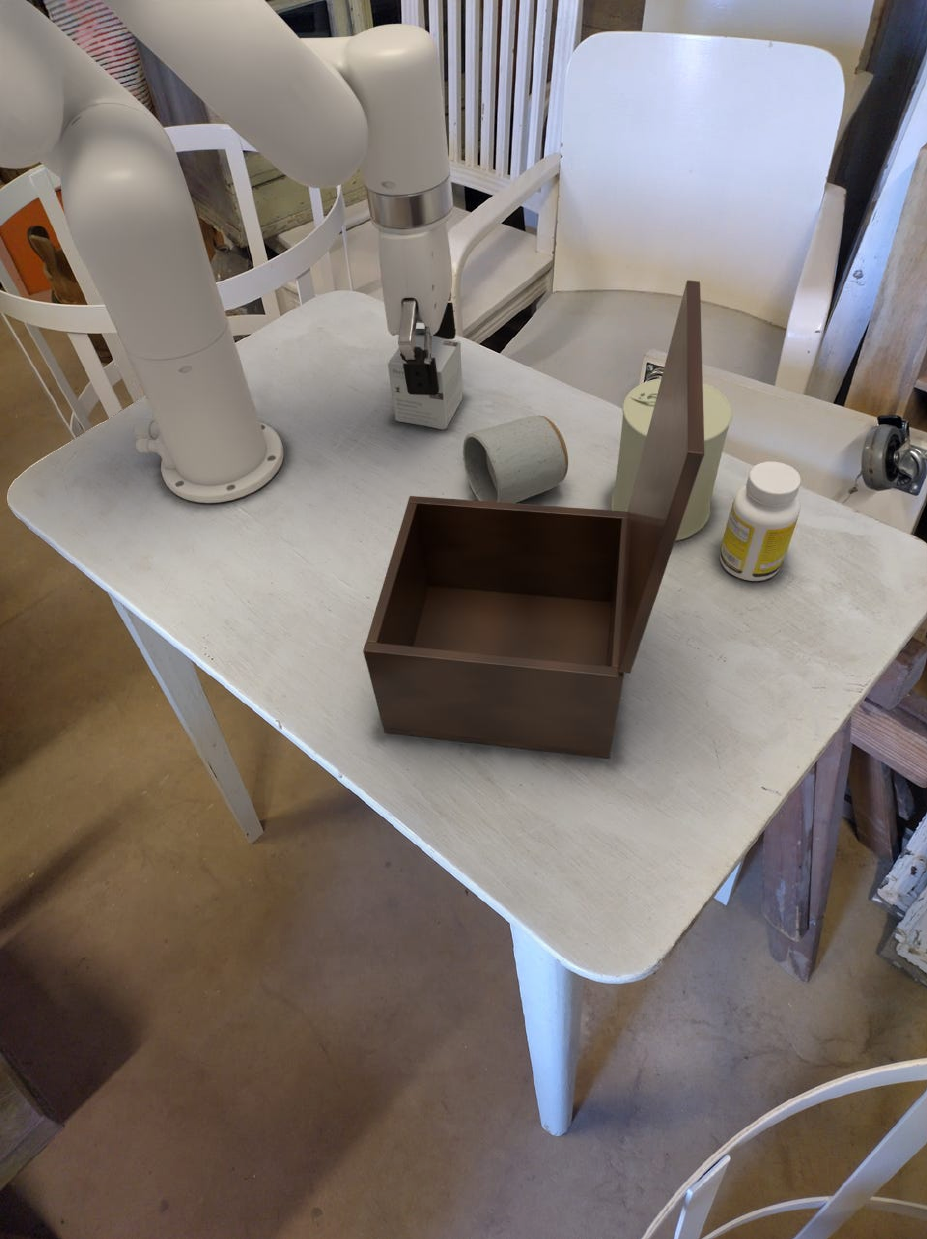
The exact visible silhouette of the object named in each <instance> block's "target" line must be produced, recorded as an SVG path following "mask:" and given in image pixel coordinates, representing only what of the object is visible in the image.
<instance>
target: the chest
mask: <svg viewBox="0 0 927 1239" xmlns="http://www.w3.org/2000/svg"><path fill="white" fill-rule="evenodd" d="M627 519H628V512H625V511H612V509H611V510H609V509H598V508H597V509H596V508H582V507H571V506H570V507H569V506H568V507H567V506H556V505H555V506H554V505H540V504H528V503H527V504H525V503H501V502H487V501H479V500H472V499H471V500H470V499H458V498H444V497H433V496H419V495H409V496H408V500H407V504H406V508H405V511H404V515H403V517H402V521H401V524H400V528H399V530H398V534H397V537H396V540H395V544H394V548H393V551H392V554H391V557H390V561H389V564H388V568H387V570H386V574H385V577H384V581H383V583H382V587H381V589H380V590H381V591H380V594H379V597H378V600H377V604H376V607H375V610H374V614H373V617H372V621H371V624H370V626H369V630H368V634H367V637H366V640H365V643H364V646H363V650H362V653H363V656H364V660H365V664H366V667H367V671H368V676H369V679H370V683H371V687H372V691H373V694H374V695H373V696H374V698H375V704H376V705H377V710H378V714H379V717H380V722H381V726H382V729H383V732H384V733H388V734H396V735H406V736H411V737H412V736H414V737H420V738H421V737H422V738H430V739H431V738H432V739H439V740H448V741H457V742H463V743H474V744H482V745H491V746H499V747H505V748H516V749H525V750H533V751H542V752H549V753H559V754H567V755H576V756H585V757H593V758H600V759H610V758H611V755H612V754H611V753H612V749H613V743H614V737H615V732H616V726H617V718H618V714H619V707H620V701H621V696H622V695H621V694H622V690H623V684H624V678H625V673H621V672H619V671H618V670H619V653H620V636H621V620H622V603H623V586H624V569H625V553H626V536H627Z"/></svg>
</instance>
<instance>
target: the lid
mask: <svg viewBox="0 0 927 1239" xmlns="http://www.w3.org/2000/svg"><path fill="white" fill-rule="evenodd" d="M701 298H702V296H701V282H700V281H699V280H698V281H697V280H686V282H685V286H684V290H683V293H682V298H681V302H680V305H679V309H678V314H677V316H676V321H675V324H674V328H673V333H672V336H671V340H670V344H669V347H668V352H667V356H666V360H665V363H664V367H663V371H662V375H661V377H660V378H661V382H660V386H659V390H658V394H657V398H656V401H655V405H654V409H653V413H652V417H651V421H650V425H649V428H648V432H647V436H646V440H645V444H644V448H643V452H642V456H641V459H640V463H639V467H638V471H637V475H636V479H635V483H634V486H633V490H632V494H631V498H630V502H629V506H628V519H627V536H626V553H625V569H624V586H623V603H622V620H621V636H620V653H619V670H618V671H619V672H621V673H624V674H627V675H628V674H629V675H630V674H631V672H632V670H633V667H634V664H635V661H636V659H637V656H638V652H639V649H640V646H641V644H642V641H643V638H644V635H645V631H646V630H647V626H648V623H649V620H650V618H651V614H652V611H653V608H654V606H655V603H656V599H657V596H658V593H659V590H660V587H661V584H662V582H663V578H664V575H665V573H666V569H667V567H668V563H669V560H670V558H671V554H672V552H673V549H674V546H675V543H676V541H675V540H676V537H677V534H678V531H679V528H680V525H681V522H682V519H683V516H684V513H685V511H686V508H687V505H688V502H689V499H690V496H691V493H692V490H693V487H694V484H695V481H696V478H697V475H698V472H699V469H700V466H701V463H702V460H703V457H704V415H703V383H704V381H703V338H702V337H703V336H702V335H703V334H702V302H701V301H702V300H701Z"/></svg>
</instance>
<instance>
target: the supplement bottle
mask: <svg viewBox="0 0 927 1239" xmlns="http://www.w3.org/2000/svg"><path fill="white" fill-rule="evenodd" d="M801 482H802V480H801V476H800V474H799V472H798V471H797V470H796V468H793V466H791V465H789V464H787V463H784V462H780V461H764V462H760V463H758V464H755V465H754V466H753V467H752V468H751V469H750V472H749V474H748V477H747V480H746V483H744V484H743V485H742V486H740V487H739V489H738V490H737V491H736V492H735V495H734V497H733V500H732V504H731V508H730V511H729V515H728V519H727V523H726V527H725V530H724V534H723V538H722V542H721V546H720V550H719V559H720V562H721V565H722V566H723V568H724V569H725V570H726V571H727V572H728V573H729V574H731V575H732V576H734V577H736V578H738V579H742V580H745V581H749V582H750V581H752V582H759V581H764V580H768V579H770V578H772V577H774V576H775V575H776V574H777V573H778V572H779V571H780V570H781V568H782V565H783V563H784V560H785V556H786V554H787V552H788V548H789V546H790V543H791V540H792V537H793V534H794V532H795V529H796V525H797V522H798V519H799V516H800V512H801V500H800V499H799V498H800V497H799V496H798V493H799V489H800V486H801Z"/></svg>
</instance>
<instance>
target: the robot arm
mask: <svg viewBox="0 0 927 1239" xmlns="http://www.w3.org/2000/svg"><path fill="white" fill-rule="evenodd" d="M99 1H100V2H101V3H103V5H105V7H107V8H108V9H109V10H110V11H111V12H112V14H113V15H115V17H116V18H117V19H118V20H119V21H120V23H122V24H123V25H124V26H125V27H126V29H127V30H128V31H129V32H130V33H131V34H132V35H134V36H135V38H137V40H138V41H140V42H141V43H142V44H143V45H144V46H145V47H147V49H149V50H150V51H151V52H152V54H154V55H155V56H156V57H157V58H158V59H160V61H161V62H162V63H164V64H165V65H166V66H167V67H168V68H169V69H170V70H171V71H172V72H173V73H174V74H175V75H176V76H177V77H178V78H179V79H180V80H181V81H182V82H183V83H184V84H185V86H186V87H188V88H189V89H190V90H191V92H193V93H194V94H195V95H196V96H197V97H198V98H199V99H200V100H201V101H202V102H203V103H204V104H205V105H206V106H207V107H208V108H209V109H210V110H211V111H212V112H213V113H214V114H216V115H217V116H218V117H219V118H220V119H221V120H222V121H223V122H224V123H225V124H226V125H227V126H228V127H230V128H231V129H232V130H233V131H234V132H235V133H236V134H237V135H239V136H240V137H241V138H242V139H243V140H244V141H245V142H247V144H249V145H250V146H251V147H252V148H253V149H254V150H255V151H257V152H258V153H259V154H260V155H262V157H263V158H265V159H266V160H267V161H268V162H269V163H270V164H272V165H273V167H275V168H276V169H277V170H279V171H280V172H281V173H282V174H284V175H285V176H286V177H287V178H289V179H291V181H294V182H295V183H297V184H300V185H301V186H304V187H307V188H308V187H309V188H312V189H319V190H321V189H322V190H327V189H332V188H336V187H338V186H341V185H343V184H345V183H346V182H348V181H349V180H350V179H351V178H353V177H354V176H355V174H356V173H358V171H359V169H360V168H361V172H362V179H363V183H364V189H365V195H366V201H367V207H368V212H369V218H370V222H371V224H372V226H373V227H374V228H375V229H376V230H378V233H377V234H378V236H377V237H378V238H377V239H378V240H377V241H378V258H379V259H378V260H379V271H380V279H381V287H382V295H383V296H382V297H383V304H384V311H385V319H386V325H387V330H388V333H389V334H390V335H391V336H392V337H394V336H398V338H397V345H398V348H400V352H401V354H400V356H401V360H402V364H403V368H404V374H405V380H406V386H407V391H408V393H409V394H412V395H437V394H438V392H439V383H438V376H437V368H436V361H435V358H432V336H437V337H440V338H444V339H451V340H455V338H456V335H457V334H456V324H455V323H456V322H455V313H454V304H453V302H451V301H452V287H453V268H452V267H453V266H452V256H451V246H450V239H449V232H448V225H447V222H448V221H450V219H451V218H452V217H453V215H454V199H453V188H452V179H451V178H452V177H451V168H450V157H449V149H448V138H447V129H446V128H447V127H446V118H445V107H444V96H443V86H442V85H443V84H442V74H441V65H440V58H439V51H438V46H437V44H436V41H435V39H434V37H433V36H432V34H430V32H429V31H427V30H426V29H424V28H422V27H420V26H417V25H413V24H407V23H395V24H394V23H391V24H383V25H378V26H375V27H371V28H368V29H365V30H363V31H361V32H359V33H357V34H356V35H350V36H337V37H334V36H333V37H299V36H298V34H296V33H295V31H294V30H293V29H292V28H291V27H289V25H288V24H287V23H286V22H285V21H284V19H282V18H281V16H279V14H278V13H277V12H276V11H275V10H274V8H272V7H271V5H270V4H269V3H268V2H267V1H266V0H99ZM61 29H62V28H60V27H59V26H57V24H56V23H54V22H53V21H52V20H50V18H48V16H47V15H45V14H44V13H43V12H42V11H40V10H39V9H38V8H37V7H36V6H34V5H33V4H32V3H31V2H29V1H27V0H0V168H2V169H3V168H4V169H11V170H12V169H13V170H14V169H15V170H18V169H25V168H30V167H33V166H35V165H37V164H39V163H40V164H41V165H42V166H44V167H45V168H46V169H47V170H49V171H50V172H51V173H53V174H54V175H55V176H57V177H58V178H59V180H60V192H61V201H62V207H63V212H64V216H65V220H66V224H67V227H68V231H69V233H70V237H71V240H72V241H73V244H74V246H75V249H76V250H77V254H78V255H79V257H80V260H81V261H82V263H83V265H84V267H85V268H86V270H87V272H88V274H89V276H90V278H91V280H92V282H93V284H94V286H95V288H96V290H97V292H98V293H99V296H100V298H101V300H102V302H103V304H104V306H105V308H106V310H107V313H108V315H109V318H110V319H111V321H112V324H113V327H114V329H115V331H116V333H117V335H118V338H119V340H120V343H121V345H122V347H123V348H124V351H125V353H126V355H127V357H128V360H129V362H130V365H131V367H132V369H133V371H134V374H135V377H136V378H137V381H138V383H139V386H140V388H141V390H142V392H143V395H144V397H145V399H146V402H147V404H148V406H149V408H150V411H151V413H152V415H153V418H154V420H151V419H150V420H149V419H148V420H147V419H136V420H135V421H134V423H133V434H134V436H135V437H136V438H137V439H136V441H135V449H136V450H137V452H139V453H140V452H141V453H157V454H158V455H159V456H160V457H161V459H162V460H161V464H160V471H161V475H162V478H163V480H164V482H165V484H166V486H167V487H168V488H169V490H170V491H171V492H172V493H173V494H175V495H176V496H178V497H180V498H182V499H184V500H185V501H190V502H195V503H201V504H203V503H204V504H216V503H223V502H229V501H234V500H237V499H241V498H243V497H246V496H248V495H250V494H252V493H254V492H255V491H257V490H259V489H261V488H262V487H264V486H265V485H266V484H267V483H269V482H270V480H272V479H273V478H274V476H275V475H276V474H277V473H278V472H279V470H280V468H281V466H282V464H283V461H284V455H285V454H284V446H283V443H282V439H281V438H280V436H279V434H278V433H277V431H276V430H274V428H273V427H271V426H269V425H268V424H266V423H264V422H261V421H260V419H259V415H258V412H257V409H256V405H255V402H254V399H253V397H252V392H251V390H250V386H249V383H248V380H247V377H246V374H245V371H244V367H243V364H242V360H241V357H240V354H239V351H238V348H237V344H236V342H235V339H234V335H233V332H232V329H231V325H230V322H229V319H228V316H227V313H226V310H225V307H224V303H223V301H222V297H221V294H220V291H219V288H218V285H217V281H216V278H215V275H214V272H213V268H212V265H211V262H210V258H209V255H208V252H207V248H206V244H205V241H204V236H203V233H202V230H201V229H202V228H201V226H200V222H199V218H198V215H197V213H196V212H197V211H196V209H195V208H196V207H195V205H194V202H193V198H192V196H191V193H190V190H189V187H188V183H187V180H186V178H185V175H184V172H183V170H182V167H181V164H180V163H181V162H180V160H179V156H178V154H177V151H176V149H175V146H174V144H173V142H172V140H171V137H170V136H169V134H168V133H167V131H166V130H165V128H164V126H163V125H162V124H161V122H160V121H159V120H158V119H157V118H156V116H155V115H154V114H153V113H152V112H151V111H150V110H149V109H148V108H147V107H146V106H145V105H144V104H143V103H142V102H141V101H139V100H138V99H137V98H136V97H135V96H134V95H133V94H132V93H131V92H130V91H129V90H127V88H126V87H124V86H123V85H122V84H121V83H120V82H119V81H118V80H117V79H115V77H113V76H112V75H111V74H110V73H109V72H108V71H106V70H105V69H104V67H102V66H101V65H100V64H99V63H98V62H97V61H96V60H95V59H94V58H93V57H91V55H89V54H88V53H87V52H86V51H85V50H84V49H83V48H82V47H80V46H79V45H78V43H76V42H75V41H74V40H73V39H72V38H70V36H68V35H67V34H66V33H65V32H64V31H63V30H61ZM417 324H423V326H424V328H417ZM415 337H424V350H423V349H422V348H420V347H416V341H415Z"/></svg>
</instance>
